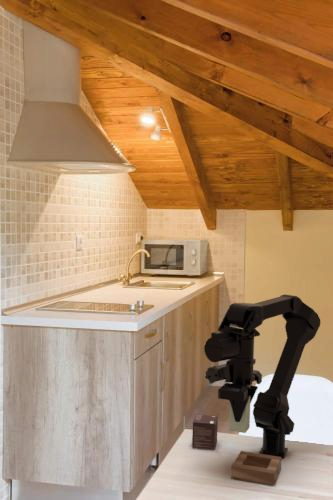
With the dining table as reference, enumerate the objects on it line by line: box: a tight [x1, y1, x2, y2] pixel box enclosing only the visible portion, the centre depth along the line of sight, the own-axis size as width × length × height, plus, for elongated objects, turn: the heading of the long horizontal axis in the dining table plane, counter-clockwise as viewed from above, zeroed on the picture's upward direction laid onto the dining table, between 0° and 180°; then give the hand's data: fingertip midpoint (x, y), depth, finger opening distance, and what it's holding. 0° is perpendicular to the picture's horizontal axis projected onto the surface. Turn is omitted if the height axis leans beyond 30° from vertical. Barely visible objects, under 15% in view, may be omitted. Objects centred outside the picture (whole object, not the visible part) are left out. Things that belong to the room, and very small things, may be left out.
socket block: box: [230, 450, 282, 487], centre depth 148 cm, size 10×10×3 cm
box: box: [191, 413, 219, 451], centre depth 166 cm, size 6×6×7 cm
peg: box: [228, 397, 251, 434], centre depth 152 cm, size 4×4×8 cm
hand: (239, 418), depth 152 cm, fingers closed on peg, 4 cm apart
